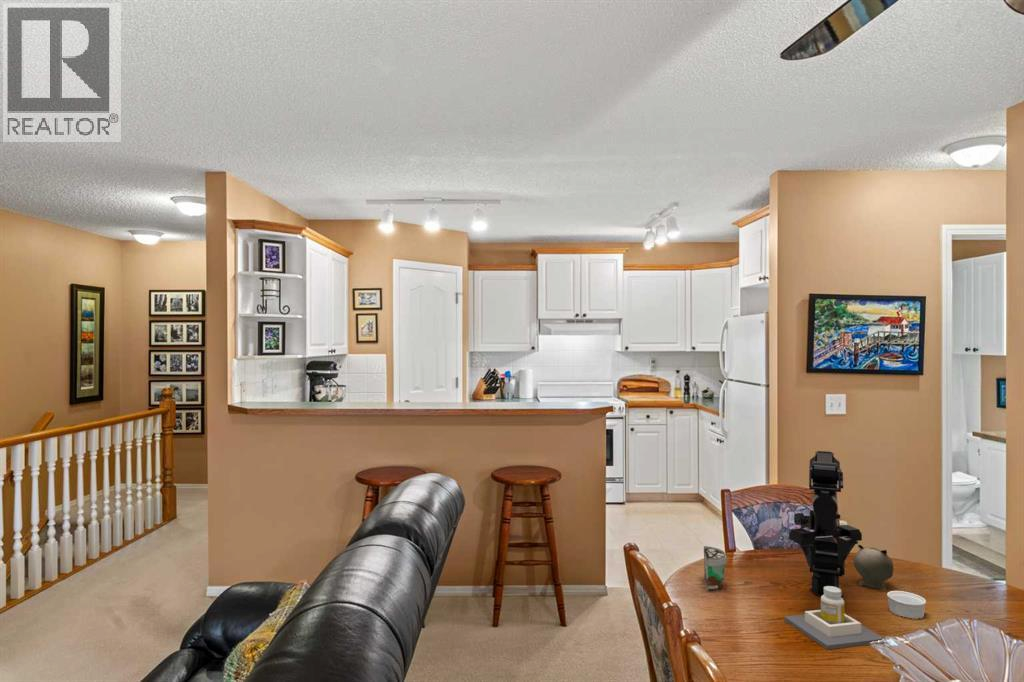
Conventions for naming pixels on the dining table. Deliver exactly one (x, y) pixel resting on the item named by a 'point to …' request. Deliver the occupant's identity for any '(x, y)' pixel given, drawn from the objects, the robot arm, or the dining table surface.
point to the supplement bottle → (832, 606)
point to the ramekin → (906, 604)
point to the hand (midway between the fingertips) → (825, 566)
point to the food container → (714, 568)
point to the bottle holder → (832, 630)
